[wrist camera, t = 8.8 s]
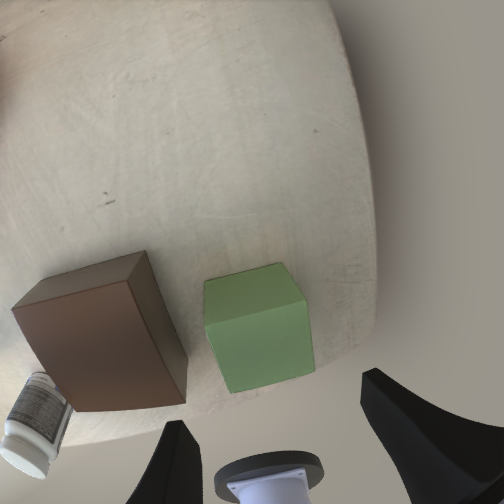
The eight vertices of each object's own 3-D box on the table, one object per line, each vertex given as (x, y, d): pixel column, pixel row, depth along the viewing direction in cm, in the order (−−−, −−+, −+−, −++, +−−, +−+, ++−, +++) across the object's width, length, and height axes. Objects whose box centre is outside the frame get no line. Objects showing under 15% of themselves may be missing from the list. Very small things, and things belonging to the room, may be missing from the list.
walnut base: (188, 360, 18) (186, 403, 14) (91, 374, 17) (76, 412, 14) (145, 250, 15) (127, 279, 11) (40, 280, 15) (9, 309, 11)
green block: (293, 325, 18) (315, 371, 14) (223, 343, 18) (229, 394, 13) (281, 261, 16) (307, 299, 12) (203, 281, 16) (203, 325, 12)
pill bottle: (22, 367, 16) (-17, 436, 9) (63, 374, 17) (27, 455, 9) (43, 405, 18) (16, 472, 10) (83, 412, 19) (61, 488, 11)
